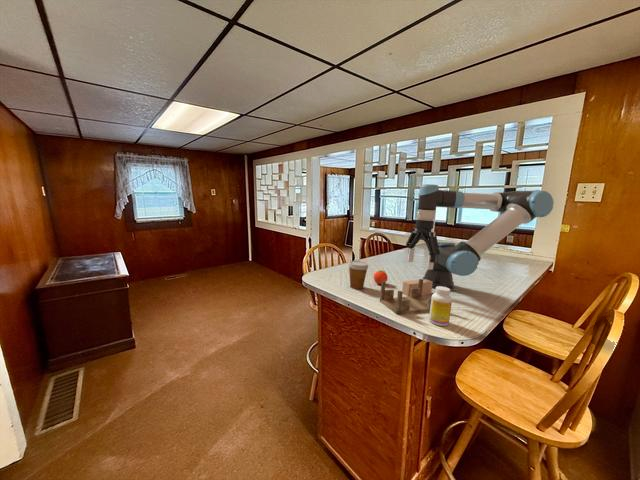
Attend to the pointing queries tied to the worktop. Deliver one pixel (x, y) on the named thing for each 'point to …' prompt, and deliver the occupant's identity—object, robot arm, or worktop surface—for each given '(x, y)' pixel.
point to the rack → (405, 300)
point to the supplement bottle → (440, 306)
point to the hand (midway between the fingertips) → (419, 265)
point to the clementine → (380, 277)
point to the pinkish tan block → (414, 284)
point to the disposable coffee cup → (357, 274)
